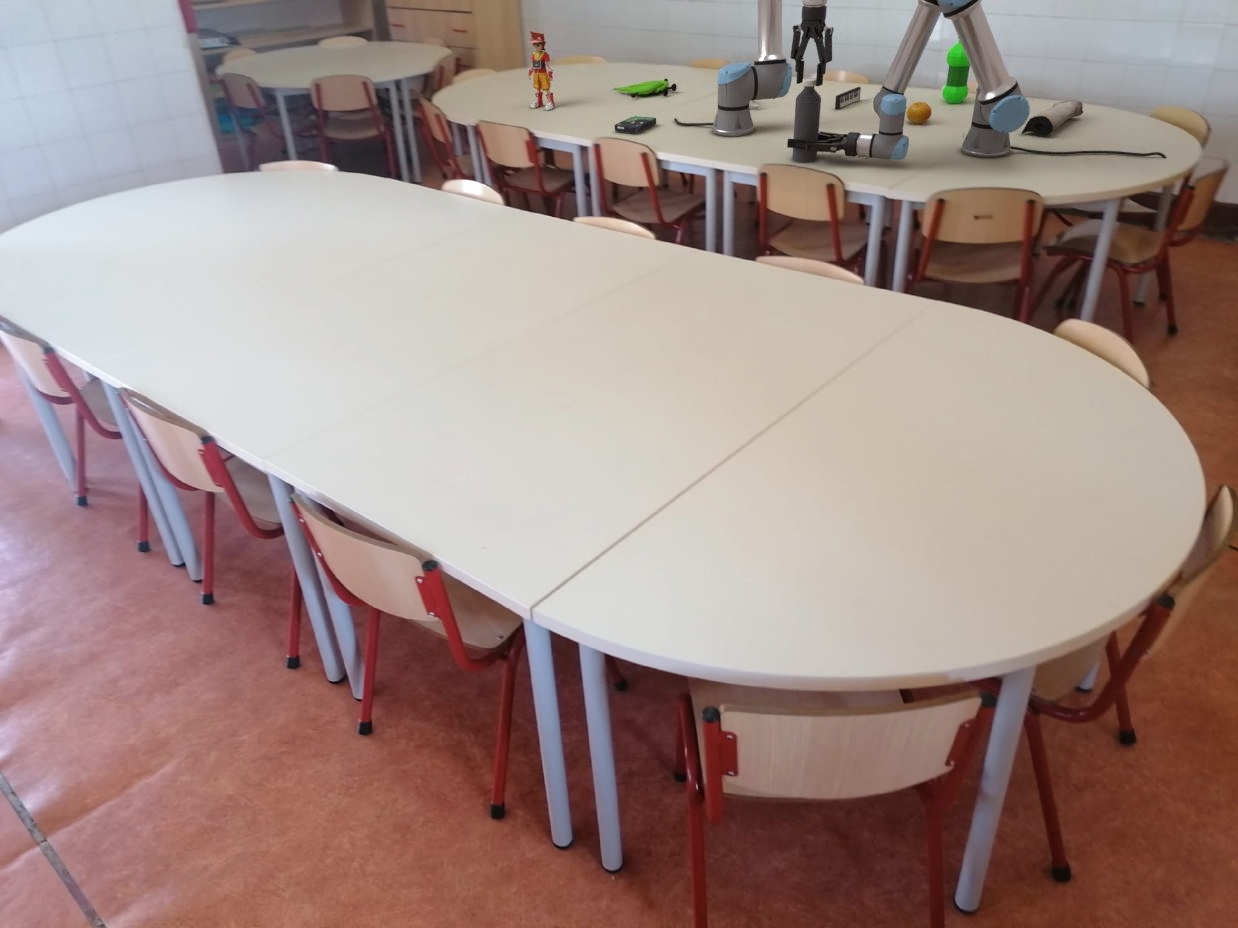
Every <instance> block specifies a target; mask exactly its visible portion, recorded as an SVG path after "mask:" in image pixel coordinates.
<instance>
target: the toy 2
mask: <svg viewBox="0 0 1238 928" xmlns="http://www.w3.org/2000/svg"><path fill="white" fill-rule="evenodd" d="M669 85H670V83H669V79H668V78H664V79H663V80H649V81H644V82H640V83H634V84H629V85H627V86H621V87H613V88H612V89H613V90H616V91H619V92H623V93H627V94H628V93H629V94H631V95H630V96H631V98H632V99H634V98H636V96H637V95H650V94H652V93H654V94H658V93H662V95H663V96H665V97H667V96H668V95H669V90H671V91H672V92H676V91H677V84H676V83H672V84H671V86H669Z"/></svg>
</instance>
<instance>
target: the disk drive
mask: <svg viewBox="0 0 1238 928" xmlns="http://www.w3.org/2000/svg"><path fill="white" fill-rule="evenodd" d="M656 125H657V117H652V116H651V117H650V116H637V115H633V116H630V117H628V118H626V119H624V120H621V121H619V122H618V123H615V124H614V132H617V133H618V132H619V133H626V134H635V135H637V134H639V133H642V132H644V131H646V130H647V129H651V128H653V127H654V126H656Z"/></svg>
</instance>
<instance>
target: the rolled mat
mask: <svg viewBox="0 0 1238 928" xmlns="http://www.w3.org/2000/svg"><path fill="white" fill-rule="evenodd" d="M1083 114H1084V110H1083V102H1082V101H1081V100H1075V99H1074V100H1066V101H1065V100H1064V101H1059V102H1055V103H1053V105H1052V107H1050V108H1047V109H1046V110H1044V111H1041V112H1040V113H1037V114H1036V115H1034V116H1032V117H1031V118H1029V119H1028V121H1026V124H1025V126H1024V128H1023V130H1022V131H1021V135H1024V134H1026V133H1033V134H1034V135H1035V136H1038V137H1043V138H1044V137H1045V138H1046V137H1049V136H1050V135H1052V134H1053V133H1054V132H1055V131H1056V130H1057V129H1058V128H1059V127H1060V126H1061V125H1063V124H1064V123H1065V122H1066V121H1067V120H1069V119H1070V118H1075V117H1080V116H1082V115H1083Z"/></svg>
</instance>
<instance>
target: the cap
mask: <svg viewBox="0 0 1238 928" xmlns="http://www.w3.org/2000/svg"><path fill="white" fill-rule="evenodd" d="M801 85H802V87H804V86H806V87H811V86H814V87H817V86H816V77H805V78H803V81H802V83H801Z"/></svg>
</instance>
